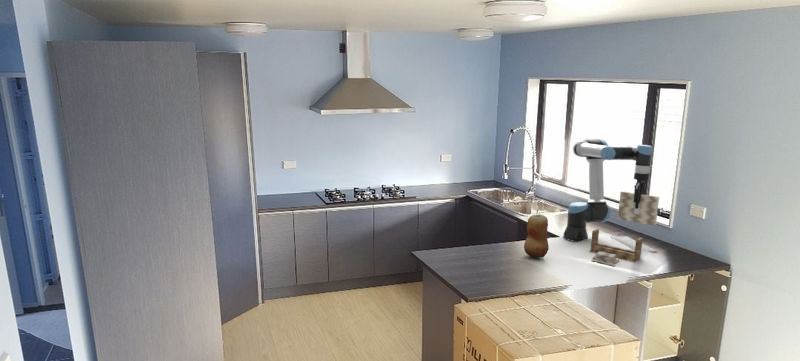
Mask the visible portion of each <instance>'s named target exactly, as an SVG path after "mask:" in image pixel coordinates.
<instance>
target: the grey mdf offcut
mask: <svg viewBox="0 0 800 361" xmlns="http://www.w3.org/2000/svg"><path fill="white" fill-rule="evenodd" d="M595 256H596V258H598V259H602V260H607V261H611V262H613V261H614V260H615V259H617V258H616V255H615V254H610V253H606V252H601V251H599V252H598V253H595Z"/></svg>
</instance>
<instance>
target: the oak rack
mask: <svg viewBox="0 0 800 361" xmlns="http://www.w3.org/2000/svg"><path fill="white" fill-rule="evenodd" d="M599 234H600V229H598V228H596V229H593V230H592V232H591V242H590V250H589V251H588V252H589V253H593V254H596V253H598V252H599V251H601V252H606V253H610V254H615V255H616V259H619V260H623V261H627V262H632V263H637V262H638V261H639V260H640V259H642V250H641V248H642V244H643V238H642V237H638V238H637V239H636V240H635V241H636V245H635V249H634V250H631V249H625V248H623V247H622V248H621V247H617V246H613V245H607V244H603V243H600V242H599Z"/></svg>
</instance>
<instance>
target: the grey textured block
mask: <svg viewBox="0 0 800 361" xmlns="http://www.w3.org/2000/svg"><path fill="white" fill-rule="evenodd" d="M619 261H620V259H618V258H616V259H615V260H614V261H613V262H611V261H607V260H602V259H598V258H596V255H594V256H593V257H592V261H591V262H592V263H595V262H596V263H595V264H600V265H605V266H609V267H612V268H615V267H616V264H617V263H618V262H619Z"/></svg>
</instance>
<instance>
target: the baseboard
mask: <svg viewBox="0 0 800 361" xmlns="http://www.w3.org/2000/svg"><path fill="white" fill-rule="evenodd" d="M627 235H628V234H626V235H622V234H617V235H614V234H612V236H610V238H611V239H613V240H615V241H617V242H618V243H620V244H623V245H625V246H627V247H629V248H631V249H632V250H633V249H634V250H635V245H636V240H635V239H633V238H631V237H629V236H627ZM641 252H647V253H658V250H656V249H654V248H651V247H649V246H648V245H646V244H643V243H642V248H641Z"/></svg>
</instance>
